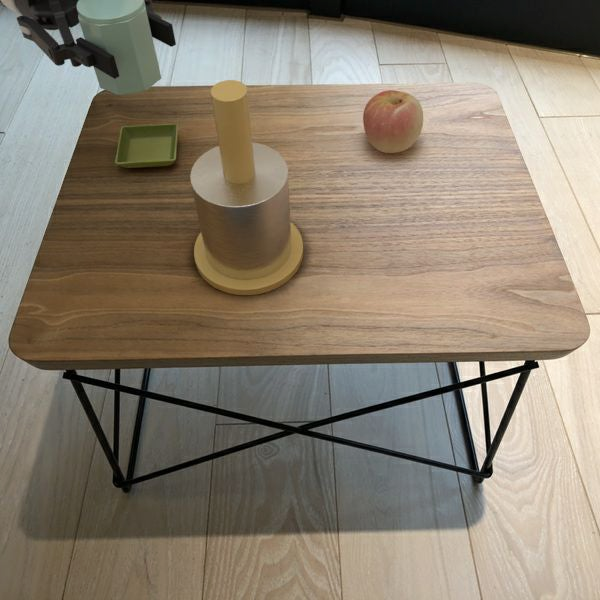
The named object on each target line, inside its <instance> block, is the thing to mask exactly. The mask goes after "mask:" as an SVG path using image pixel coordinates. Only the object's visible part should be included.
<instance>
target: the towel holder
mask: <svg viewBox="0 0 600 600" xmlns="http://www.w3.org/2000/svg"><path fill="white" fill-rule="evenodd" d="M248 92H249V91H248V87H247V85H246V84H245V83H243V82H242V81H239V80H236V79H227V80H221V81H219V82H217V83H215V84H214V85H213V86H212V87H211V89H210V96H211V103H212V110H213V116H214V123H215V129H216V136H217V142H218V145H217V146H214V147H213V148H211V149H208V150H207V151H206V152H204V153H203V154H201V156H199V158H197V159H196V161H195V162H194V164H193V165H192V167H191V170H190V175H189V179H190V185H191V190H192V195H193V199H194V205H195V209H196V214H197V218H198V223H199V229H200V232H199V234H198V236H197V237H196V241H195V243H194V247H193V257H194V258H193V259H194V263H195V266H196V269H197V271H198V274H199V275H200V276H201V277H202V279H204V281H205V282H206V283H207V284H209V285H210V286H211V287H213V288H215V290H216V289H217V290H219V291H221V292H223V293H227V294H230V295H237V296H255V295H261V294H264V293H265V294H266V293H269V292H271V291H274V290H276V289H278V288H280V287H281V286H284V285H285V284H286V283H288V282H289V281H290V280H291V279H292V278H293V277H294V276H295V275H296V273H297V272H298V270H299V269H300V267H301V265H302V262H303V259H304V242H303V238H302V234H301V233H300V232H301V231H299V229H298V227H296V225H295V224H294V223H293V222H292V221H291V205H290V182H289V181H290V180H289V167H288V163H287V162H286V159H285V158H284V156H283V155H282V154H280V152H279V151H277V150H275V149H274V148H272V147H270V146H268V145H266V144H263V143H258V142H254V141H253V135H252V125H251V113H250V112H251V111H250V101H249V93H248Z"/></svg>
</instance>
